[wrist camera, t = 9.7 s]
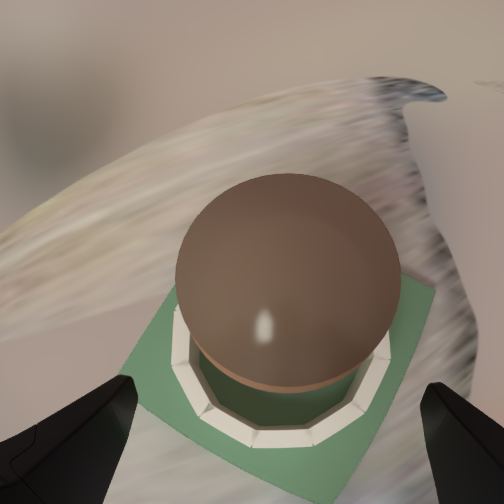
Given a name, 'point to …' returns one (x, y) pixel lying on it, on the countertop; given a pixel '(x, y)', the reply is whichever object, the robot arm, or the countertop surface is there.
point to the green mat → (277, 403)
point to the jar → (288, 282)
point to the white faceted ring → (281, 435)
